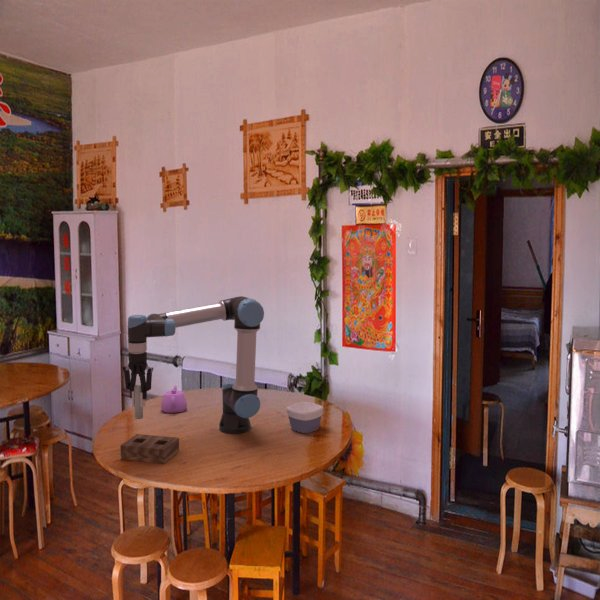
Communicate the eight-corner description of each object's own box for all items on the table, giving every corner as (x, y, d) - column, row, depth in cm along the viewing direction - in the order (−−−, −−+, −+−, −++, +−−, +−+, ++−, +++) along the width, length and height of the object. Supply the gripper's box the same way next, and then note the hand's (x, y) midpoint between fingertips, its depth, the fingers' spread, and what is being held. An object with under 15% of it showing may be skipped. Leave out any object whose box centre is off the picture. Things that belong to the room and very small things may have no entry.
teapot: (188, 403, 326) (187, 384, 325) (186, 415, 306) (185, 394, 305) (163, 404, 324) (162, 384, 323) (159, 416, 305) (159, 395, 303)
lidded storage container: (327, 429, 287) (327, 406, 285) (305, 437, 275) (306, 414, 274) (303, 421, 297) (304, 400, 296) (282, 429, 286) (282, 407, 284)
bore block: (179, 451, 258) (178, 437, 257) (164, 463, 245) (164, 449, 244) (137, 447, 263) (136, 433, 262) (120, 459, 249) (120, 445, 248)
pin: (144, 416, 254) (143, 385, 253) (140, 419, 251) (140, 387, 249) (137, 416, 255) (136, 384, 253) (133, 418, 252) (132, 386, 250)
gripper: (159, 351, 251) (160, 405, 254) (124, 349, 255) (125, 402, 258) (151, 355, 244) (152, 410, 247) (115, 352, 248) (116, 407, 251)
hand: (138, 406), depth 252 cm, fingers closed on pin, 3 cm apart
